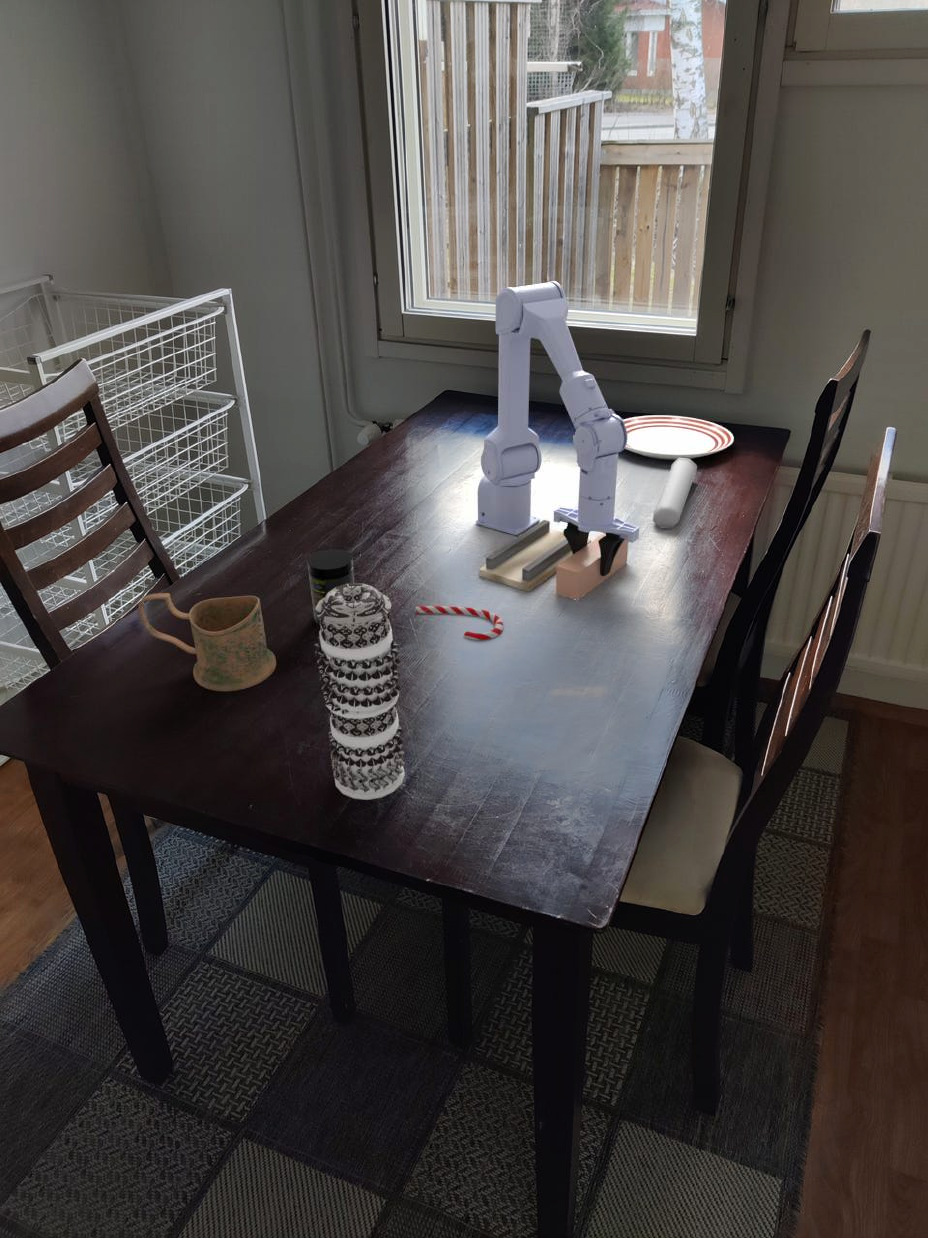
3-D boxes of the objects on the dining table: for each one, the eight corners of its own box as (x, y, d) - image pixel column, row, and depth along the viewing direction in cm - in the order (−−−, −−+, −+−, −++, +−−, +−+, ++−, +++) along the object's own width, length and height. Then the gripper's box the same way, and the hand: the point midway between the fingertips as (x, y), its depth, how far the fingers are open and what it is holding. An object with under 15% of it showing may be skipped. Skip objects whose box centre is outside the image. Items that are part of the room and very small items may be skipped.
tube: (684, 514, 164) (701, 463, 184) (656, 502, 165) (676, 453, 185) (672, 538, 167) (690, 486, 187) (645, 526, 168) (666, 475, 188)
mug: (166, 646, 137) (150, 575, 131) (283, 646, 136) (273, 574, 130) (140, 691, 127) (121, 616, 121) (266, 691, 126) (254, 616, 120)
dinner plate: (640, 419, 222) (641, 405, 220) (751, 439, 208) (753, 425, 206) (584, 453, 203) (585, 438, 201) (701, 478, 189) (703, 463, 187)
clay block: (556, 593, 148) (556, 566, 145) (606, 556, 159) (607, 530, 156) (577, 600, 146) (578, 572, 143) (626, 562, 157) (628, 536, 154)
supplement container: (347, 633, 139) (340, 571, 134) (306, 626, 141) (299, 566, 135) (364, 611, 144) (359, 551, 139) (325, 605, 146) (319, 546, 141)
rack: (478, 575, 154) (478, 558, 152) (542, 532, 168) (543, 516, 166) (529, 591, 149) (529, 574, 147) (590, 546, 162) (591, 529, 161)
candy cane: (424, 596, 146) (512, 614, 141) (424, 603, 147) (511, 621, 142) (401, 619, 140) (492, 639, 135) (402, 627, 141) (492, 646, 136)
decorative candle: (316, 792, 108) (291, 608, 95) (352, 745, 116) (333, 568, 103) (387, 810, 105) (371, 622, 92) (419, 761, 113) (408, 581, 100)
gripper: (544, 491, 146) (542, 567, 153) (626, 512, 138) (620, 591, 145) (567, 477, 151) (564, 551, 157) (647, 496, 143) (641, 574, 150)
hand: (592, 569), depth 152 cm, fingers closed on clay block, 4 cm apart
